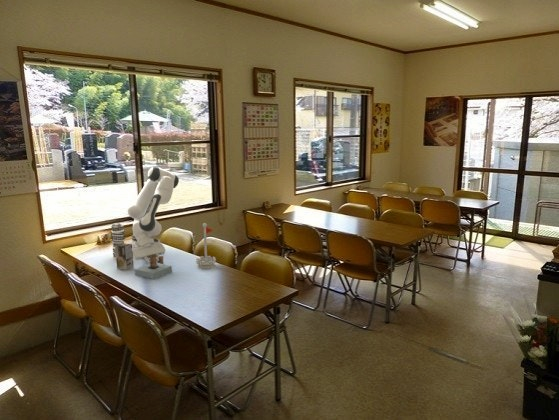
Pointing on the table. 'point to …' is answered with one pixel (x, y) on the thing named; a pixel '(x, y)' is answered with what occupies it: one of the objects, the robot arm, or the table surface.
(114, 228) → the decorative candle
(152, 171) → the robot arm
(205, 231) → the flag stand
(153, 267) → the long pin
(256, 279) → the table surface
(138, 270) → the bored board
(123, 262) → the coffee box
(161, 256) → the short pin
